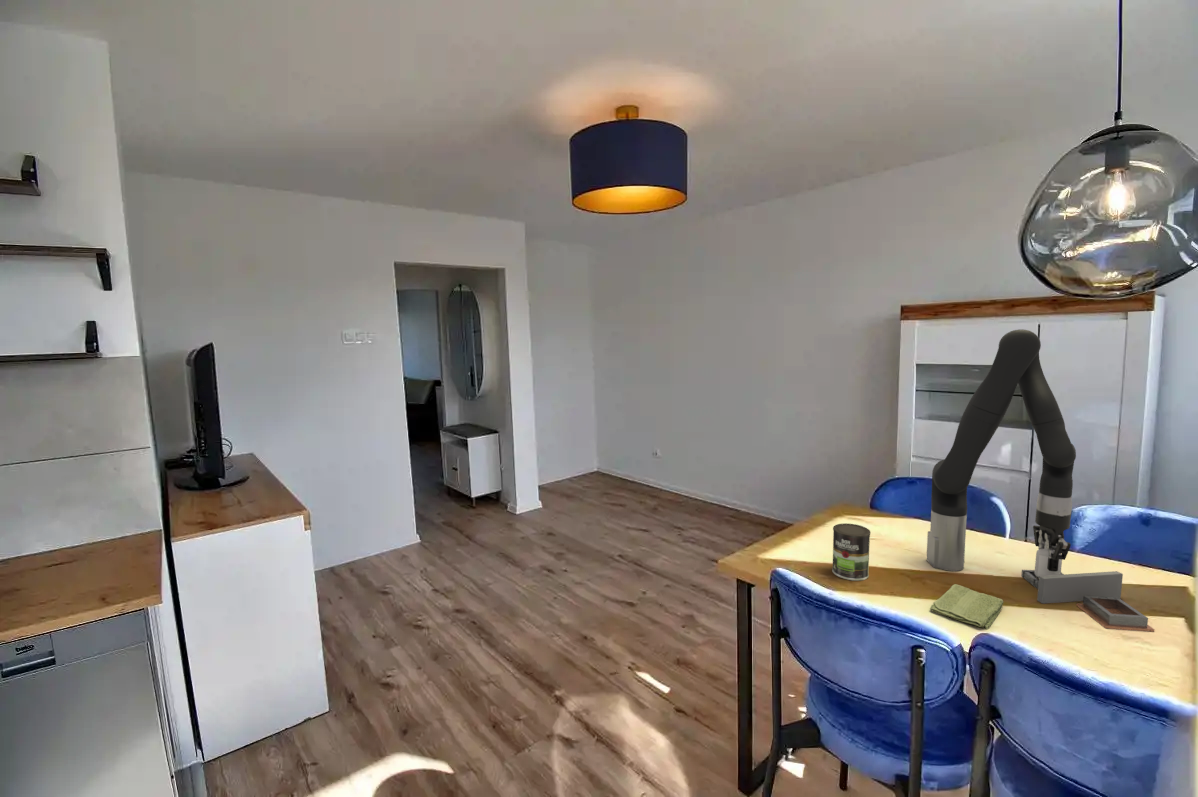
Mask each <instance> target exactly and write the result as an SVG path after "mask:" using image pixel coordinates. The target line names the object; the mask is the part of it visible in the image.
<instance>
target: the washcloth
mask: <svg viewBox="0 0 1198 797" xmlns="http://www.w3.org/2000/svg"><path fill="white" fill-rule="evenodd" d="M1004 603H1005V602H1004V599H1002V598H999V597H996V596H994V595H990V594H986V593H983V592H979V591H977V590H973V589H970V588H969V587H966V586H963V585H960V584H957V583H955V584H952V585H951V586H950V588H949V589H948V590H947V591H946V592H944V593H943V594H942V595H941V596H940V597H939V598H937V599H936V600H935V601H934V602H933V604H931V606H930V608H929V609H930V610H929V611H931V612H933V613H935V614H939V615H942V616H945V617H949V618H950V619H953V620H955V621H956V620H957V621H959V622H963V623H965V624H970V625H974V626H976V627H978V628H983V630H988V629H990V627H991V626H992V624H993V622H995V620H996V619H997V617H998V616H999V614H1000V613H1001V610H1002V608H1003V605H1004Z"/></svg>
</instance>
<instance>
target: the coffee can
mask: <svg viewBox="0 0 1198 797" xmlns="http://www.w3.org/2000/svg"><path fill="white" fill-rule="evenodd" d="M832 530H833V537H832V538H833V539H832V541H833V543H832V569H831V571H832V573H833V574H834V575H835V576H836V577H838V578H841V579H843V580H848V581H853V582H854V581H855V582H856V581H857V582H861V581H865V580H867V579H869V571H870V570H869V569H870V568H869V566H870V543H871V542H870V541H871V540H870V539H871V530H870V529H869V528H867V527H865V526H863V525H859V524H857V523H856V524H855V523H854V524H853V523H838V524H835V525H834V526H833V527H832Z"/></svg>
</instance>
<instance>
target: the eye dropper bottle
mask: <svg viewBox="0 0 1198 797" xmlns="http://www.w3.org/2000/svg"><path fill="white" fill-rule="evenodd" d="M1051 547H1056V546H1051ZM1054 551H1055V550H1053V554H1054ZM1048 557H1049V552H1048V549H1047V548H1046V542H1045V546H1044V549H1037V550H1036V554H1035V561H1034V562H1035V563H1034V570H1035V572H1034V574H1035V575H1036V577H1038V578H1037V579H1039V576H1048V575H1061V573H1062V564H1063V560H1062V559H1059V563H1058V571H1049V570H1048V569H1047V567H1048Z"/></svg>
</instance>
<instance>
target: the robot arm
mask: <svg viewBox="0 0 1198 797" xmlns="http://www.w3.org/2000/svg"><path fill="white" fill-rule="evenodd" d="M1041 348H1042V346H1041V339H1040V338H1039V336H1038V335H1037V334H1036V333H1034V332H1033V331H1031V330H1028V329H1014V330H1011V331H1009V332H1006V333H1005V334H1004V335H1003V336H1002V337H1001V338H1000V340H999V342H998V348H997V352H996V354H995V357H994V360H993V362H992V365H991V368H990V370H989V372H988V373H987V375H986V376H985V377H984V379H983V381H982V382H981V383H980V385H979V386H978V387H977V389H976V390H975V392H974V393H973V395H972V396H971V397H970V400H969V401H968V402H967V405H966V406H965V409H964V411H963V412H962V416H961V418H960V420H959V423H958V425H957V429H956V433H955V437H954V439H953V440H954V441H953V444H952V446H951V448H950V450H949V452H948V453H947V455H946V457H945V458H944V459H941V460H939V461H938V462H937V463H936V464H935V465H934V466H933V468H932V473H931V474H932V475H931V496H930V498H931V499H930V500H931V502H930V503H931V504H930V505H931V508H930V509H931V512H930V528H929V529H930V530H929V531H927V538H926V542H927V543H926V561H927V562H928V563H929V564H930V565H931V566H932V568H934V569H936V568H937V569H939V570H945V571H949V572H951V571H952V572H953V571H955V572H956V571H957V572H958V571H959V572H960V571H962V570H963V569H964V568H965V555H966V554H965V552H966V537H967V536H966V535H967V534H966V532H967V520H968V518H967V517H968V499H967V498H968V494H967V493H968V487H969V485H970V483H971V482H970V481H971V480H972V476H973V474H974V471H975V468H976V466H977V463H978V461H979V460H980V457H981V456H982V454H983V452H984V451H985V449H986V448H987V447H988V444H989V443H990V441H991V440H992V438H993V436H994V434H995V433H996V431H997V430H998V428H999V427H1000V425H1001V423H1002V421H1003V419H1004V417H1005V415H1006V413H1007V411H1008V408H1009V406H1010V404H1011V401H1012V399H1013V397H1014V394H1015V391H1016V389H1017V386H1018V388H1019V390H1020V393H1021V394H1020V395H1021V396H1022V397H1021V398H1022V400H1023V404H1024V407H1025V410H1026V412H1027V415H1028V418H1029V421H1030V424H1031V426H1032V428H1033V430H1034V432H1035V436H1036V438H1037V443H1038V446H1039V450H1040V453H1041V455H1042V465H1041V466H1042V470H1041V471H1042V472H1041V476H1040V480H1039V486H1038V487H1039V488H1038V495H1037V499H1036V509H1035V510H1036V511H1035V521H1034V522H1035V524H1036V525H1033V527H1032V528H1033V530H1032V531H1033V535H1034V536H1033V537H1034V544H1035V547H1037V550H1039V549H1044V546H1045V542H1046V548H1047V549H1048V552H1049V557H1048V567H1047V569H1048V570H1049V571H1058V563H1059V559H1062V561H1063V560H1066V558H1067V556H1068V553H1069V551H1070V549H1071V545H1072V544H1071V542H1068V541H1066V540H1065V533H1064V531H1066V530H1068V529H1070V528H1071V520H1072V508H1073V501H1072V500H1073V499H1072V498H1073V485H1074V484H1073V482H1074V481H1073V472H1074V471H1073V470H1074V465H1075V464H1074V463H1075V460H1076V458H1077V451H1076V447H1075V446H1074V445H1073V443H1072V442H1071V439H1070V436H1069V435H1068V432H1067V430H1066V424H1065V421H1064V417H1063V415H1062V412H1061V409H1060V406H1059V404H1058V401H1057V399H1056V397H1055V395H1054V393H1053V391H1052V389H1051V387H1050V384H1048V381H1047V379H1046V377H1045V375H1044V374H1045V373H1044V371H1043V367H1042V365H1041V360H1040V355H1039V354H1040V353H1039V352H1040V350H1041ZM1051 546H1056V547H1051ZM1053 550H1055V551H1054V554H1053Z"/></svg>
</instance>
